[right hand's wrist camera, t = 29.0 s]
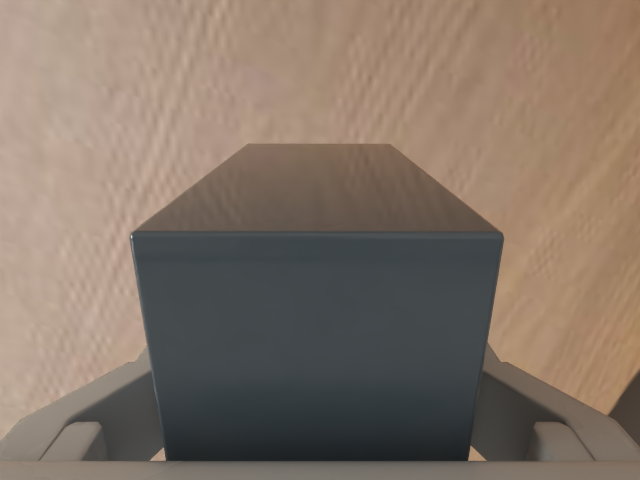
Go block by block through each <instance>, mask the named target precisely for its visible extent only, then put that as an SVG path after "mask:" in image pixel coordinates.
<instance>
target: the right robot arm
mask: <svg viewBox="0 0 640 480" xmlns="http://www.w3.org/2000/svg"><path fill="white" fill-rule="evenodd" d="M471 446H472V447H473V448H474V449H475V450H476V451H477V452H478V453H480V454H481V455H482V456H483V457H484V458H485V459H486V460H487V461H149V460H150V459H151V458H152V457H153V456H155V455H156V454H157V453H158V452H159V451H160V450H161V449H162V448H163V447H164V445H163V439H162V432H161V426H160V420H159V414H158V408H157V402H156V396H155V390H154V384H153V378H152V372H151V366H150V360H149V354H148V347H147V345H146V347H145V348H144V350H143V351H142V353H141V354H140V355H139V357H138V358H137V360H136V361H135V362H128V363H126V364H124V365H122V366H120V367H118V368H117V369H115V370H113V371H111V372H109V373H107V374H105V375H103V376H102V377H100V378H98V379H96V380H94V381H92V382H90V383H88V384H87V385H85V386H83V387H81V388H79V389H77V390H75V391H73V392H72V393H70V394H68V395H66V396H64V397H62V398H60V399H58V400H57V401H55V402H53V403H51V404H49V405H47V406H45V407H43V408H42V409H40V410H38V411H36V412H34V413H32V414H30V415H28V416H26V417H25V418H23V419H21V420H19V422H18V423H17V424H16V425H15V426H14V427H13V428H12V429H11V430H10V431H9V433H8V434H7V435H6V436H5V437H4V438H3V439H2V440H1V441H0V480H640V447H639V446H638V445H637V444H636V443H635V442H634V441H633V439H632V438H631V437H630V436H629V435H628V434H627V433H626V432H625V430H624V429H623V428H622V427H621V426H620V425H619V424H618V423H617V421H616V420H614V419H612V418H610V417H608V416H606V415H604V414H603V413H601V412H599V411H597V410H595V409H593V408H591V407H590V406H588V405H586V404H584V403H582V402H580V401H578V400H577V399H575V398H573V397H571V396H569V395H567V394H565V393H564V392H562V391H560V390H558V389H556V388H554V387H552V386H551V385H549V384H547V383H545V382H543V381H541V380H540V379H538V378H536V377H534V376H532V375H530V374H528V373H527V372H525V371H523V370H521V369H519V368H517V367H515V366H514V365H512V364H510V363H508V362H501V361H500V360H499V359H498V357H497V356H496V354H495V353H494V351H493V350H492V348H491V347H490V345H489V344H488V342H487V347H486V353H485V359H484V365H483V371H482V378H481V384H480V390H479V396H478V402H477V408H476V414H475V421H474V427H473V433H472V439H471Z"/></svg>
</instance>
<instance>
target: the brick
mask: <svg viewBox="0 0 640 480" xmlns="http://www.w3.org/2000/svg"><path fill="white" fill-rule="evenodd" d="M503 242H504V236H503V233H502V232H501V231H500V230H498V229H497V228H496V227H495V226H493V225H492V224H491V223H490V222H488V221H487V220H486V219H484V218H483V217H482V216H481V215H479V214H478V213H477V212H476V211H474V210H473V209H472V208H471V207H469V206H468V205H467V204H465V203H464V202H463V201H462V200H460V199H459V198H458V197H457V196H455V195H454V194H453V193H452V192H450V191H449V190H448V189H447V188H445V187H444V186H443V185H441V184H440V183H439V182H438V181H436V180H435V179H434V178H433V177H431V176H430V175H429V174H428V173H426V172H425V171H424V170H423V169H421V168H420V167H419V166H417V165H416V164H415V163H414V162H412V161H411V160H410V159H409V158H407V157H406V156H405V155H404V154H402V153H401V152H400V151H398V150H397V149H396V148H395V147H393V146H392V145H391V144H247V145H245V146H244V147H243V148H241V149H240V150H239V151H237V152H236V153H235V154H233V155H232V156H231V157H229V158H228V159H227V160H225V161H224V162H223V163H222V164H220V165H219V166H218V167H216V168H215V169H214V170H212V171H211V172H210V173H208V174H207V175H206V176H204V177H203V178H202V179H200V180H199V181H198V182H197V183H195V184H194V185H193V186H191V187H190V188H189V189H187V190H186V191H185V192H183V193H182V194H181V195H179V196H178V197H177V198H175V199H174V200H173V201H171V202H170V203H169V204H168V205H166V206H165V207H164V208H162V209H161V210H160V211H158V212H157V213H156V214H154V215H153V216H152V217H150V218H149V219H148V220H146V221H145V222H144V223H143V224H141V225H140V226H139V227H137V228H136V229H135V230H133V231H132V232H131V234H130V244H131V250H132V256H133V263H134V269H135V275H136V281H137V287H138V293H139V299H140V305H141V311H142V317H143V323H144V329H145V335H146V341H147V347H148V354H149V360H150V366H151V372H152V378H153V384H154V390H155V396H156V402H157V408H158V414H159V420H160V426H161V432H162V439H163V445H164V451H165V457H166V461H468V457H469V451H470V445H471V439H472V433H473V427H474V421H475V414H476V408H477V402H478V396H479V390H480V384H481V378H482V371H483V365H484V359H485V353H486V347H487V341H488V334H489V328H490V322H491V316H492V310H493V304H494V298H495V291H496V285H497V279H498V273H499V267H500V261H501V254H502V248H503Z"/></svg>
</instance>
